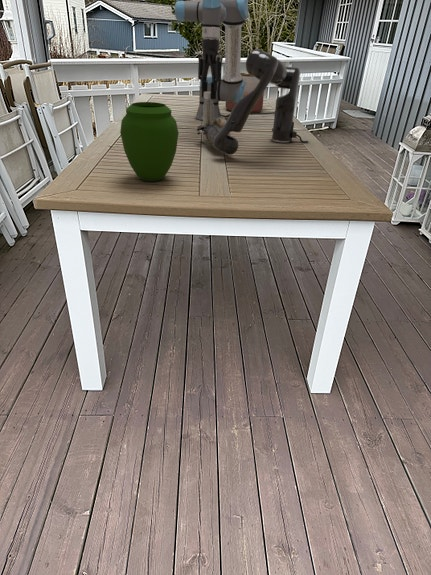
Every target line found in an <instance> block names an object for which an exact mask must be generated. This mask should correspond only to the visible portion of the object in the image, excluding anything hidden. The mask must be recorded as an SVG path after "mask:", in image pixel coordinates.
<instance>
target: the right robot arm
mask: <svg viewBox="0 0 431 575" xmlns="http://www.w3.org/2000/svg"><path fill="white" fill-rule="evenodd" d="M246 57H247V58H246V60H245V70H246V73H249V74H250V75H252V76H254V77H256V78H257V79H259V80H260V81H259V83H258V85H257V86H256V87H255V89H254V90H253V91H252V92H250V93H249V94H248V95H246V96H245V97H244V98H242V99H241V100H239V101H238V102H237V103H236V104H235V106H234V107H233V109H232V111H230V113H229V114H230V115H229V116H228V118H227V119H226V121H227V122H226V123H225V125H224V126H223V127H220V126H218V125H215V124H212V125H209V126H208V127H207V126H203V124H200V125H198V126H196V127H197V128H196V134H197V135H198V136H199V135H203V134H204V135H205V136H206V138H207V139H208V140H209V141H210V142H211V143H210V144H212V146H213V148H214V149H216V150H217V151H219V152H221V153H224V154H226V155H229V156H231V155H234V154H236V153H237V151H238V149H239V141H238V139H237V138H236V137H235V136H232V135H230V133H231V132H233V133H241V132H242V130H243V128H244V127H245V125H246V122H247V121H248V118H249V117H250V115H251V114H250V113H251V111H252V109H253V107H254V106H255V104H256V103H257V101H258V100H259V98H260V97H261V95H262V94H263V92H264V93H265V90H266V89H267V87H268V86H269V84H271V85H274V86H275V87H277V88H278V89H284V90H288V93H286V94H284V95H280V96H278V97H277V98H276V99H275V106H274V112H275V113H274V116H273V117H274V118H273V125H272V126H273V127H272V129H271V132H272V134H271V141H272V142H273V143H278V144H288V143H292V140H293V139H296V138H299V141H300V142H301V143H302V144H306V143H309V140H303V139H302V137H301V135H299V134H298V132H297V131H295V130H294V128H295V121H294V117H295V116H294V114H295V107H296V100H297V96H298V89H299V83H300V78H301V70H300V68H299V67H296V66H295V67H294V66H286V65H285V63H284V62H282V60H280V59H278V58H277V57H276V56H274V55H272V54H270V53H269V52H266V51H265V50H263V49H260V48H255V49H253V50H252V51H250V52H249V53H248V56H246Z"/></svg>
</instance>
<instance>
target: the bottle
mask: <svg viewBox="0 0 431 575" xmlns="http://www.w3.org/2000/svg"><path fill="white" fill-rule="evenodd" d="M213 113H214V104H213V101H212V99H205V102H204V104H203V120H202V126H207V127H208V126H209V125H212V124H213V122H214V121H213ZM201 135H202V137H201V138H202V139H201V140H202V142H201V143H202V144H208V145H209V144H212V143H211V142H210V141H209V140H208V139H207V138H206V136H205V135H204V134H203V133H202V134H201Z"/></svg>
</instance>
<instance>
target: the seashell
mask: <svg viewBox="0 0 431 575" xmlns="http://www.w3.org/2000/svg"><path fill="white" fill-rule="evenodd" d="M226 122H227V119H226V117H223V116H221V118H218V119H216V120H215V121H213V124H215V125H218V126H220V127H223V126H224V125H225V123H226Z"/></svg>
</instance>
